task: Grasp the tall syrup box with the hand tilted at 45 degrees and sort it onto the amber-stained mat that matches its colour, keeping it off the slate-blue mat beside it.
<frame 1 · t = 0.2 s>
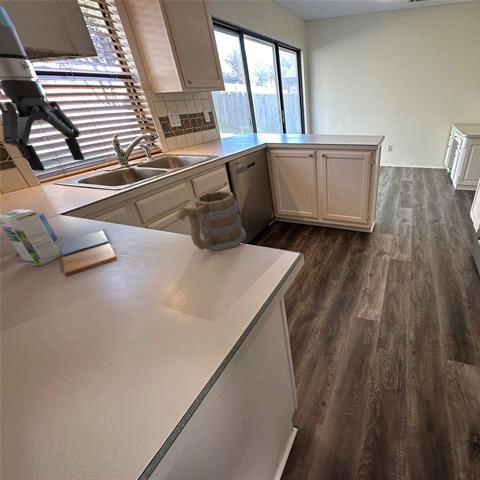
hand: (61, 165, 77), 23 cm above the worktop, tool pointing down, fingers open, 13 cm apart
slate mat: (85, 244, 82), on the worktop
amber mat: (90, 259, 74), on the worktop
syrup box: (45, 260, 75), on the worktop
tankard: (216, 246, 78), on the worktop
flask: (48, 243, 84), on the worktop
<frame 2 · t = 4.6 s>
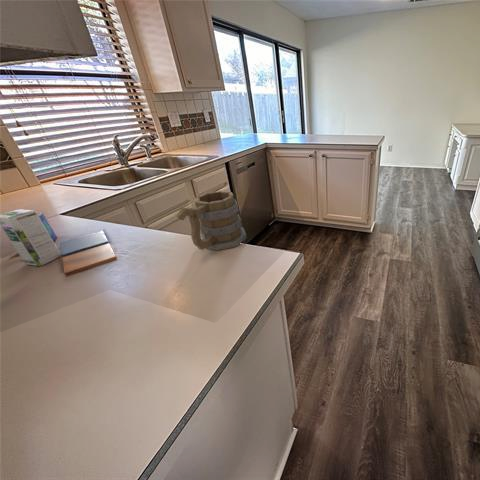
nothing on the worktop moved.
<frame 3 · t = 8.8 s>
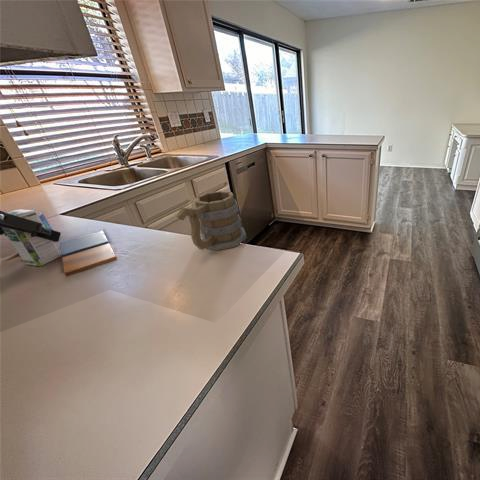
hand: (46, 237, 75), 5 cm above the worktop, tool tilted 45°, fingers closed on syrup box, 6 cm apart
syrup box: (45, 260, 75), on the worktop, touching gripper
everything else where it was.
when the fingers open (6 cm above the worktop, at t = 16.4 s): syrup box stays where it is, resting on amber mat.
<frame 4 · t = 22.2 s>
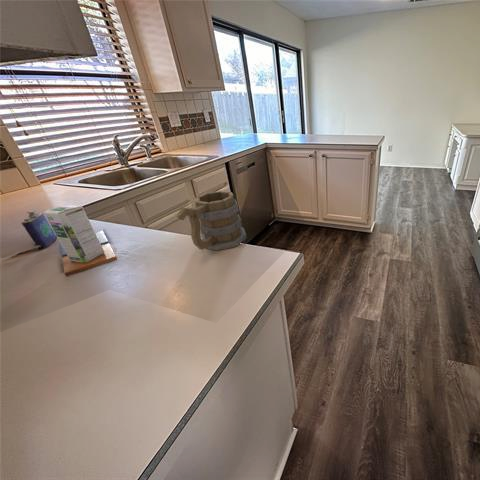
syrup box: (88, 257, 73), point 1 cm above the worktop, touching amber mat
everything else where it was.
at the end: syrup box inside the target area on the amber mat (0.1 cm from its centre), point 0.8 cm above the amber mat's base; syrup box tilted 0°; syrup box touching amber mat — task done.
